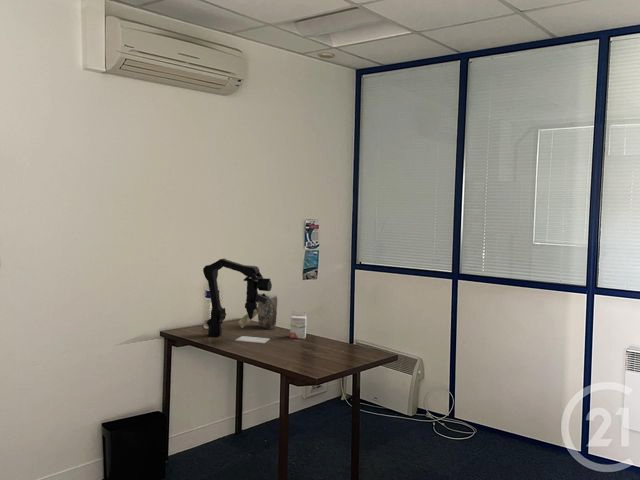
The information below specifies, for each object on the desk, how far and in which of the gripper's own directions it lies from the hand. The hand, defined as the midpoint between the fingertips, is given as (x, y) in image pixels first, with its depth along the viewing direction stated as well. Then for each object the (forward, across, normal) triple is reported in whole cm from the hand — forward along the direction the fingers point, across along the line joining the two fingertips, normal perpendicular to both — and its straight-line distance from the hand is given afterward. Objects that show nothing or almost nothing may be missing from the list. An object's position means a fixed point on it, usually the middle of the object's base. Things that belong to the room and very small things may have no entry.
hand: (251, 318), depth 334 cm
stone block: (+12, +33, -8) cm, 36 cm away
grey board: (+12, -1, -1) cm, 12 cm away
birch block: (+4, 0, +6) cm, 7 cm away
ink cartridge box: (+12, +8, -26) cm, 30 cm away
